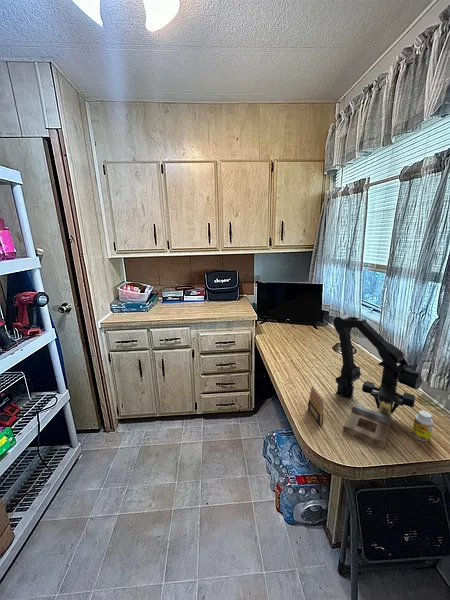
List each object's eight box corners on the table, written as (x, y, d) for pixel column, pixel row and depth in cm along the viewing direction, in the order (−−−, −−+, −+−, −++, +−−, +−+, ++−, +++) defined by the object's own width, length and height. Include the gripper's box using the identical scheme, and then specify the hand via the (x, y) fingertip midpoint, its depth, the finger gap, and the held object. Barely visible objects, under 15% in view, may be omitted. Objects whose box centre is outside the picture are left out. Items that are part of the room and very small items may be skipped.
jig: (343, 432, 102) (344, 421, 101) (352, 413, 113) (353, 403, 112) (383, 449, 94) (385, 437, 92) (389, 428, 104) (391, 417, 103)
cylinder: (377, 415, 112) (379, 399, 110) (379, 409, 115) (381, 393, 113) (390, 420, 109) (392, 403, 107) (391, 414, 112) (394, 397, 110)
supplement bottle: (408, 433, 101) (412, 411, 99) (417, 429, 103) (422, 407, 101) (423, 444, 96) (428, 420, 94) (433, 439, 98) (438, 416, 95)
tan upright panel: (323, 425, 106) (325, 399, 103) (318, 425, 106) (320, 400, 103) (311, 408, 116) (313, 385, 114) (307, 409, 116) (309, 385, 114)
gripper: (360, 378, 108) (356, 411, 111) (415, 395, 96) (409, 430, 100) (366, 368, 116) (362, 399, 120) (417, 382, 104) (411, 415, 108)
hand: (385, 410), depth 111 cm, fingers closed on cylinder, 5 cm apart
